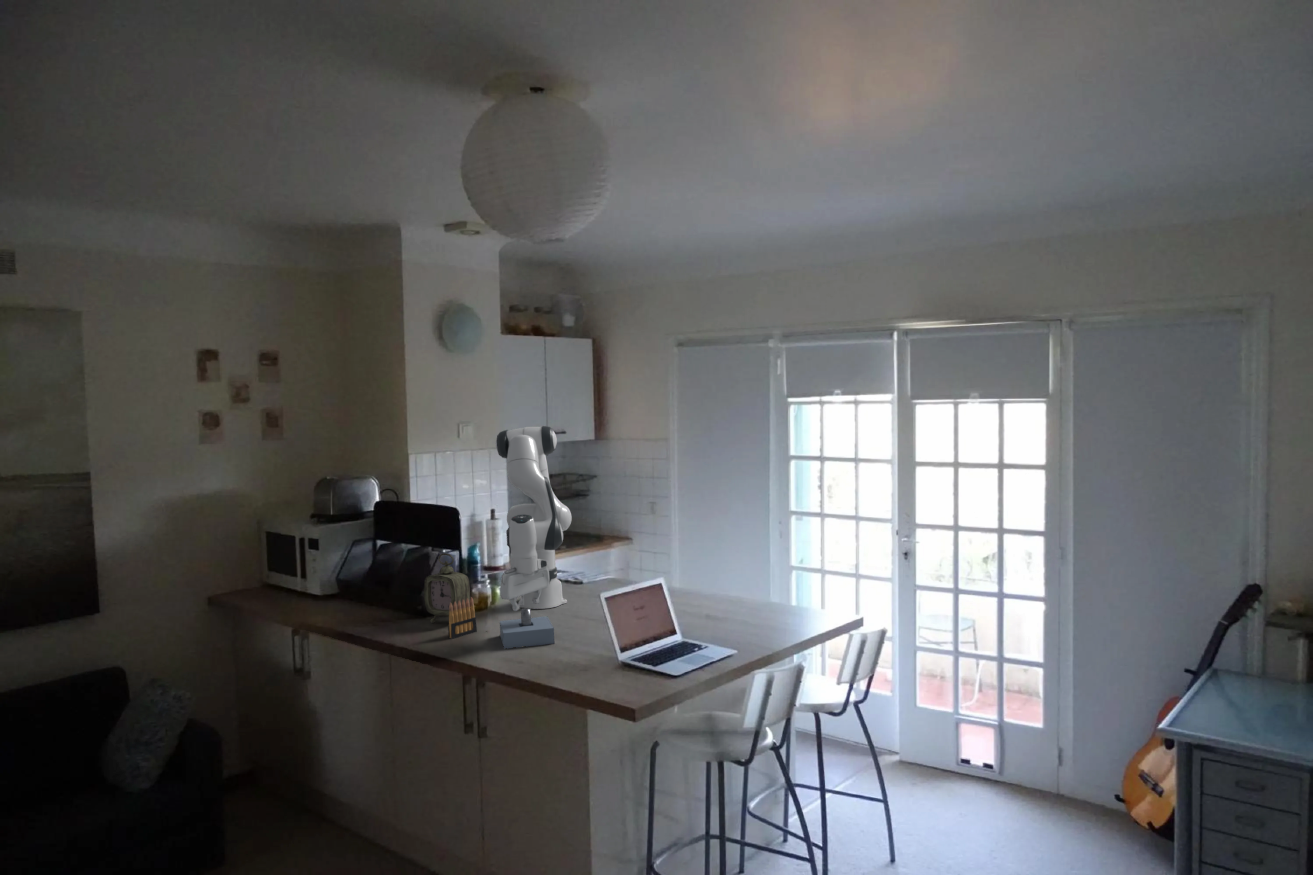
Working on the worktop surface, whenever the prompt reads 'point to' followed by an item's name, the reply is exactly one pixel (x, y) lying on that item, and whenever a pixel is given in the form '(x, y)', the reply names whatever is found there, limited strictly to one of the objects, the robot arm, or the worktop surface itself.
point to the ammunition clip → (461, 619)
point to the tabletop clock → (445, 590)
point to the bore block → (526, 632)
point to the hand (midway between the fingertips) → (526, 606)
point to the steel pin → (525, 617)
